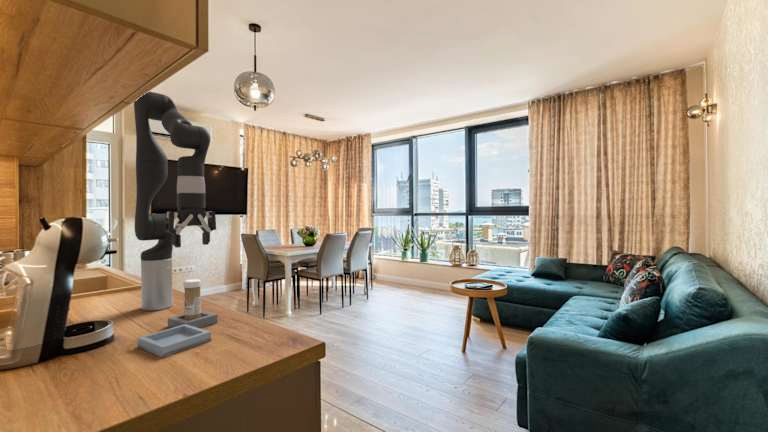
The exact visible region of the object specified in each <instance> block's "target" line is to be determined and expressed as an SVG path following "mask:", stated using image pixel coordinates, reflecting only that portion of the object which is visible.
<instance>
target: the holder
mask: <svg viewBox="0 0 768 432" xmlns="http://www.w3.org/2000/svg"><path fill="white" fill-rule="evenodd" d="M216 323H218V314H216V313H213V312H210V311H205V310H203V309H201V317H200V318H197V319H193V320H190V321H187V320H185V314H184V313H182V314H178V315H175V316H170V317H167V327H169V328H173V327H177V326H180V325H184V324H187V325H190V326H194V327H197V328H200V329H202V328H203V327H208V326H211V325H213V324H216Z"/></svg>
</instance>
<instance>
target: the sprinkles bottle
mask: <svg viewBox="0 0 768 432" xmlns="http://www.w3.org/2000/svg"><path fill="white" fill-rule="evenodd" d="M201 286H202V281H201V279H200V278H199V279H198V278H194V279H193V278H192V279H190V278H189V279H186V280H184V281H183V288H184V299H183V300H184V304H183V305H184V308H183V309H184V313H183V314H185V320H187V321H190V320H193V319H197V318H200V317H201V310H202V309H201V308H202V306H201V305H202V298H201V297H202V296H201Z"/></svg>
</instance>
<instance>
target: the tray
mask: <svg viewBox="0 0 768 432" xmlns="http://www.w3.org/2000/svg"><path fill="white" fill-rule="evenodd" d="M211 341H212V332H211V331H210V330H208V329H207V330H206V329H203V328H197V327H194V326H190V325H187V324H184V325H180V326H177V327H173V328H172V327H169V328H166V329H163V330H160V331H157V332H153V333H149V334H146V335H142V336H138V337H137V348H139V349H141V350H143V351H147V352H149V353H151V354H153V355H156V356H157V357H161V358H165V357H168V356H170V355H174V354H176V353H177V354H178V353H179V352H183V351H185V350H188V349H191V348H194V347H197V346H200V345H203V344H206V343H208V342H211Z"/></svg>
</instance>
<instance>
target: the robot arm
mask: <svg viewBox="0 0 768 432" xmlns="http://www.w3.org/2000/svg"><path fill="white" fill-rule="evenodd" d="M148 91H149V90H148ZM133 108H134V109H133V110H134V112H133V113H134V123H135V133H136V136H135V137H136V139H135V140H136V141H135V142H136V147H135V148H136V150H135V151H136V152H135V175H136V177H135V178H136V181H135V182H136V199H135V200H136V201H135V202H136V203H135V213H134V234H135V237H136V238H137V240H139V241H157V243H156V244H155V245H154V246H152V247H150V248H147V249H145V250H142V251H141V252H140V279H141V282H140V285H141V286H140V287H141V289H140V290H141V295H140V296H141V310H142V311H160V310H164V309H168V308H171V307H172V306H173V305H174V304H173V258H172V257H173V250H174V249H173V248H176V249H177V248H181V246H182V243H181V242H182V241H181V239H182V237H181V233H182V231H183V230H184V229H186V227H192V226H194V227H195V226H197V227H198V228H200V229H201V231H202V232H201V233H202V238H201V241H202V245H204V246H205V245H209V243H210V242H211V232H212V231H215V230H217V222H216V221H217V220H216V211H214V210H208V211H206V206H207V205H206V182H205V163H206V158H207V154H208V150H209V148H210V144H211V135H210V132H209V130H208V129H207V128H205V127H203V126H198V125H193V123H192V122H191V121H190V120H189V119H188V118H186V117H185V116H184V115H183V114H182V113H181V112H180V110H179V108H178V107H177V105H176V104H175V102H174V100H173V99H172V98H171V97H169V96H167V95H166V94H162V93H158V92H154V91H149V92H148V93H146V94H145V95H143V96H142V97H140V98H139V99H138V100H137V101H135V102H134V101H133ZM150 120H153V121H158V122H161V125H162V127H163V129H164V130H165V131H166V132H167V133H168V134H169V139H170V142H171V143H172V145H173V146H175V147H176V148H180V149H181V148H182V149H187V150H194V152H193V154H192V155H186V156H180V157H178V159H177V165H176V166H177V180H176V208H177V210H176V212H175V211H166V212H165V213H150V210H151V205H152V202H153V200H154V198H155V196H156V195H157V193H158V192H159V191H160V190H161V188H162V187H163V186H164V184H165V182H166V181H167V179H168V175H169V174H168V169H169V163H168V156H167V154H166V152H165V151H164V150H163V147H161V145H160V143H159V142H158V140H157V139H156V138H155V136H154V134H153V132H152V129H151V126H150ZM176 218H177V219H178V221H177V222H176V223H175V220H176ZM205 218H206V219H207V221H206V220H205Z"/></svg>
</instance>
